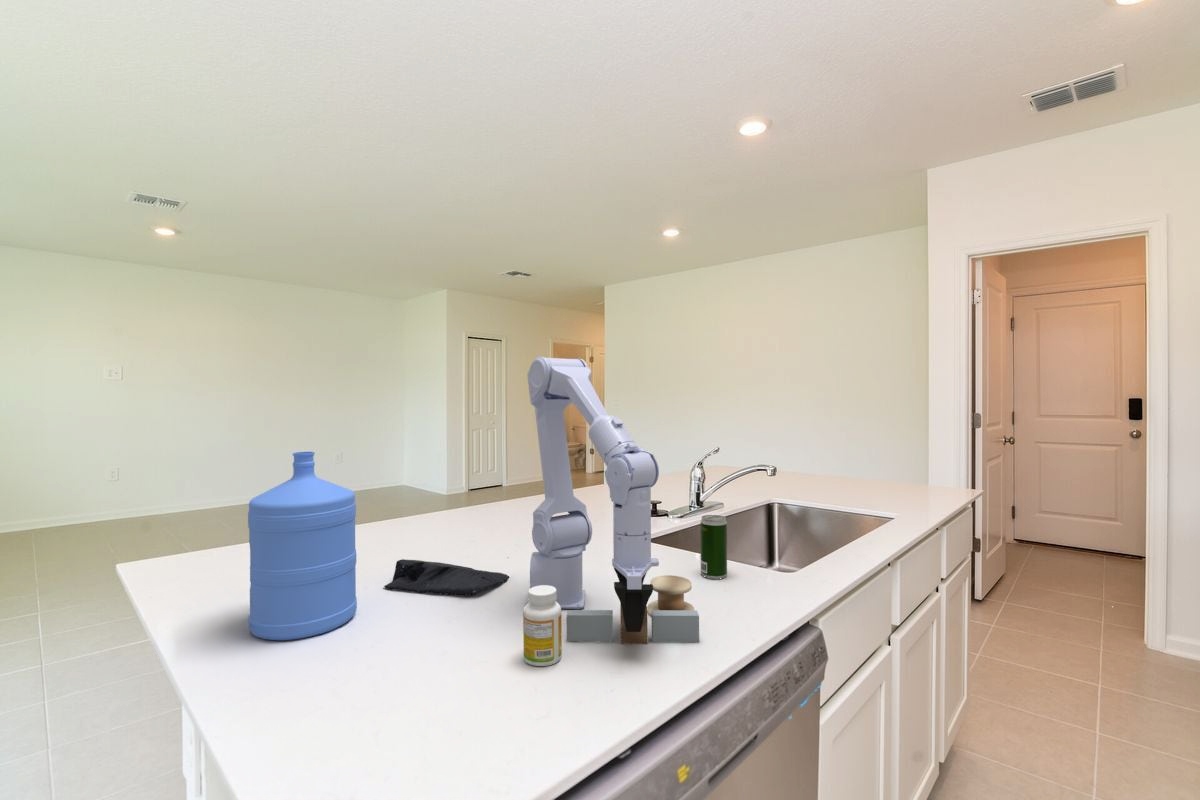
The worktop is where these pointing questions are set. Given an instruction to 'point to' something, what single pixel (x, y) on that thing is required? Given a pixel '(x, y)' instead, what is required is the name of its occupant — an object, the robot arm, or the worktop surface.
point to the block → (633, 636)
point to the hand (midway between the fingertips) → (632, 619)
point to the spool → (670, 593)
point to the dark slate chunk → (442, 578)
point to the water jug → (302, 556)
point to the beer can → (714, 546)
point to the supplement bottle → (542, 627)
